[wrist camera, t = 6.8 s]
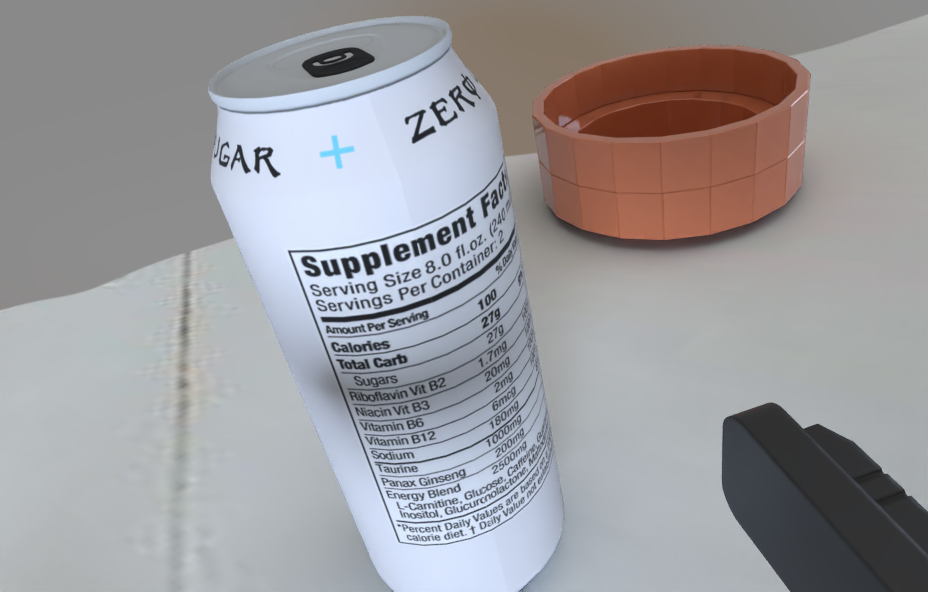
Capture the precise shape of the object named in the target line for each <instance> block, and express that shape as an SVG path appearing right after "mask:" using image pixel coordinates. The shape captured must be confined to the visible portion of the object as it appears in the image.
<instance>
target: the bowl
mask: <svg viewBox="0 0 928 592" xmlns="http://www.w3.org/2000/svg"><path fill="white" fill-rule="evenodd" d="M810 79H811V74H810V72H809V71H808V70H807V69H806V68H805V67H804V66H803V65H802V64H801V63H800V62H799V61H798V60H796V59H793V58H791V57H788V56H785V55H783V54H780V53H778V52H775V51H770V50H764V49H758V48H751V47H744V46H727V45H695V46H682V47H668V48H660V49H654V50H648V51H642V52H636V53H630V54H626V55H622V56H618V57H615V58H611V59H607V60H603V61H599V62H596V63H593V64H591V65H588V66H586V67H583V68H581V69H578V70H576V71H573V72H571V73H568V74H566V75H564V76H563V77H561V78H559V79H558V80H556V81H554V82H553V83H551V84H550V85H548V86H546V87H545V88H544V89H543V90H542V91H541V93H540V94H539V95H538V96H537V97H536V98H535V100H534V101H533V109H532V110H533V111H532V118H533V125H534V131H535V138H536V145H537V153H538V158H539V167H540V174H541V181H542V187H543V194H544V200H545V202H546V203H547V204H548V206H549V207H550V208H551V210H552V211H553V212H554V213H555V215H556V216H557V217H558V218H560V219H562V220H564V221H566V222H568V223H570V224H572V225H574V226H576V227H578V228H580V229H581V230H585V231H590V232H594V233H598V234H603V235H607V236H612V237H616V238H623V239H647V240H670V239H678V238H687V237H696V236H704V235H710V234H715V233H718V232H722V231H725V230H729V229H732V228H736V227H739V226H742V225H746V224H749V223H752V222H755V221H756V220H758V219H760V218H762V217H764V216H766V215H767V214H769V213H771V212H773V211H775V210H777V209H778V208H780V207H782V206H783V205H785V204H786V203H787V202H788V201H789V200H790V199H791V197H792V196H793V195H794V194H795V193H796V192H797V191H798V190H799V188H800V187H801V185H802V177H803V167H804V154H805V142H806V129H807V117H808V104H809V91H810Z"/></svg>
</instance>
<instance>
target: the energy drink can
mask: <svg viewBox="0 0 928 592" xmlns="http://www.w3.org/2000/svg"><path fill="white" fill-rule="evenodd" d="M451 41H452V32H451V29H450V27H449V25H448V23H447V22H444V21H443V20H441V19H438V18H433V17H425V16H398V17H387V18H379V19H372V20H366V21H359V22H354V23H349V24H343V25H339V26H335V27H330V28H326V29H322V30H318V31H315V32H311V33H307V34H304V35H300V36H297V37H294V38H291V39H288V40H285V41H282V42H279V43H276V44H274V45H271V46H268V47H265V48H263V49H260V50H258V51H256V52H253V53H251V54H249V55H247V56H245V57H243V58H241V59H239V60H237V61H235V62H233V63H231V64H229V65H228V66H226V67H225V68H223V69H221V70H220V71H219V72H218V73H217V74H216V75H214V76H213V77H212V79H211V80H210V82H209V83H208V92H209V94H210V97H211V99H212V100H213V101H214V102H215V103H216V105H217V107H218V121H217V129H216V136H215V143H214V149H213V157H212V165H211V184H212V186H213V189H214V191H215V193H216V196H217V198H218V200H219V203H220V205H221V207H222V210H223V212H224V214H225V217H226V219H227V222H228V224H229V226H230V229H231V231H232V233H233V236H234V238H235V240H236V243H237V245H238V248H239V250H240V252H241V255H242V257H243V259H244V262H245V264H246V266H247V269H248V271H249V273H250V276H251V278H252V280H253V283H254V285H255V287H256V290H257V292H258V295H259V297H260V299H261V302H262V304H263V306H264V309H265V311H266V313H267V316H268V318H269V320H270V323H271V325H272V327H273V330H274V332H275V334H276V337H277V339H278V342H279V344H280V346H281V349H282V351H283V353H284V356H285V358H286V360H287V363H288V365H289V367H290V370H291V372H292V374H293V377H294V379H295V382H296V384H297V386H298V389H299V391H300V393H301V396H302V398H303V400H304V403H305V405H306V407H307V410H308V412H309V414H310V417H311V419H312V421H313V424H314V426H315V429H316V431H317V433H318V436H319V438H320V440H321V443H322V445H323V447H324V450H325V452H326V454H327V457H328V459H329V461H330V464H331V466H332V469H333V471H334V473H335V476H336V478H337V480H338V483H339V485H340V487H341V490H342V492H343V494H344V497H345V499H346V501H347V504H348V506H349V508H350V511H351V513H352V516H353V518H354V520H355V523H356V525H357V527H358V530H359V532H360V534H361V537H362V539H363V541H364V544H365V546H366V548H367V551H368V553H369V555H370V558H371V560H372V563H373V564H374V566H375V568H376V570H377V572H378V573H379V575H380V577H381V578H382V579H383V580H384V581H385V582H386V583H387V585H388V586H389V587H390V588H391V589H392V590H394V591H395V592H518V591H520V590H521V589H522V588H523V587H524V586H525V585H526V584H527V583H528V582H529V581H530V580H531V579H532V578H533V577H534V576H535V575H536V574H537V573H538V572H539V571H541V570H542V569H543V567H544V566H545V564H546V563H547V562H548V560H549V559H550V557H551V556H552V554H553V553H554V551H555V549H556V546H557V544H558V542H559V539H560V537H561V533H562V528H563V523H564V505H563V497H562V492H561V486H560V480H559V474H558V468H557V462H556V456H555V451H554V445H553V439H552V433H551V427H550V421H549V415H548V409H547V404H546V398H545V392H544V386H543V380H542V374H541V368H540V363H539V357H538V351H537V345H536V339H535V333H534V327H533V321H532V316H531V310H530V304H529V298H528V292H527V286H526V280H525V274H524V269H523V263H522V257H521V251H520V245H519V239H518V233H517V228H516V222H515V216H514V210H513V204H512V198H511V192H510V186H509V181H508V175H507V169H506V163H505V157H504V152H503V146H502V140H501V134H500V128H499V122H498V116H497V110H496V107H495V105H494V103H493V101H492V99H491V97H490V96H489V94H488V93H487V92H486V91H485V89H484V88H483V87H482V86H481V84H480V83H479V82H478V81H477V80H476V79H475V77H474V76H473V75H472V74H471V72H470V71H469V70H468V69H467V68H466V66H465V65H464V64H463V63H462V61H461V60H460V59H459V58H458V56H457V55H456V54H455V52H454V51H453V49H452V47H451Z"/></svg>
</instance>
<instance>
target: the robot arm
mask: <svg viewBox="0 0 928 592" xmlns="http://www.w3.org/2000/svg"><path fill="white" fill-rule="evenodd" d="M722 486H723V491H724V494H725V498H726V500H727V503H728V505H729V507H730V509H731V511H732V513H733V515H734V516H735V518H736V520H737V521H738V522H739V524H740V525H741V527H742V528H743V529H744V531H745V532H746V533H747V535H748V536H749V537H750V539H751V540H752V541H753V543H754V544H755V545H756V546H757V548H758V549H759V550H760V552H761V553H762V554H763V556H764V557H765V558H766V560H767V561H768V562H769V564H770V565H771V566H772V568H773V569H774V570H775V572H776V573H777V574H778V576H779V577H780V578H781V580H782V581H783V582H784V584H785V585H786V586H787V588H788V589H789V590H790V592H928V512H927V511H926V510H925V509H924V508H923V507H922V506H921V505H920V504H919V503H918V502H917V501H916V500H915V499H914V498H913V497H911V496H907V495H906V493H905V490H904V489H903V488H902V487H901V486H900V485H899V484H898V483H897V482H896V481H895V480H893V479H892V478H891V477H890V476H889V475H888V474H884V473H883V472H882V468H881V467H880V466H879V465H878V464H877V463H875V462H874V461H873V460H872V459H871V458H870V457H869V456H868V455H867V454H866V453H865V452H864V451H863V450H862V449H861V448H860V447H858V446H857V445H856V444H855V443H854V442H853V441H851V440H849V439H847V438H845V437H843V436H841V435H839V434H837V433H835V432H833V431H831V430H829V429H827V428H825V427H823V426H821V425H819V424H816V425H813V426H810V427H807V428H804V429H803V428H802V427H801V426H800V425H799V424H798V423H797V422H796V421H795V420H794V419H793V418H792V417H791V416H790V415H789V414H788V413H787V412H786V411H785V410H784V409H783V408H782V407H780V406H779V405H777V404H775V403H767V404H764V405H761V406H758V407H755V408H752V409H749V410H746V411H743V412H740V413H738V414H735V415H732V416H729V417H727V418H725V420H724V422H723V441H722Z"/></svg>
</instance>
